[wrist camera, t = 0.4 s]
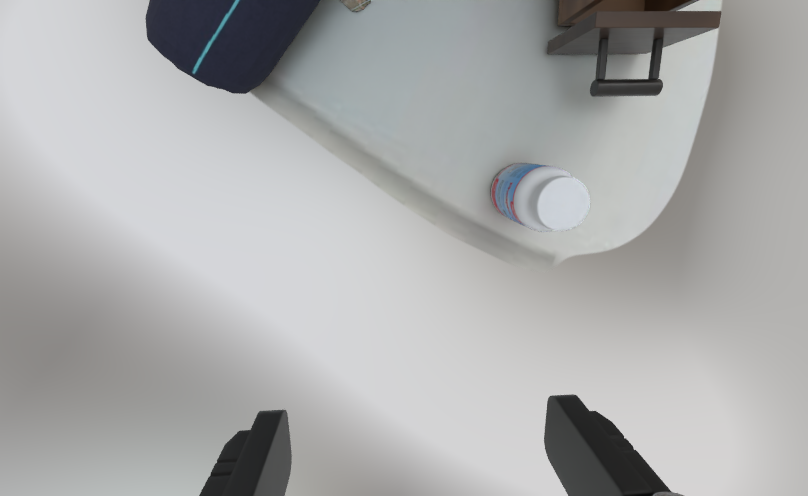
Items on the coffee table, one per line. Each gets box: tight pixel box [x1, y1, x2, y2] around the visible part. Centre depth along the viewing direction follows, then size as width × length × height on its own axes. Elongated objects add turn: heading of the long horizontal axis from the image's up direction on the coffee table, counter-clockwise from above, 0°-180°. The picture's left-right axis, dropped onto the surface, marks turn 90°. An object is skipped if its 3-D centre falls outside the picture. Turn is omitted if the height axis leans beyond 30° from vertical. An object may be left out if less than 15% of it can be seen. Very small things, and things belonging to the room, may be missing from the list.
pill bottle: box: [491, 163, 590, 232], centre depth 38 cm, size 6×6×11 cm
